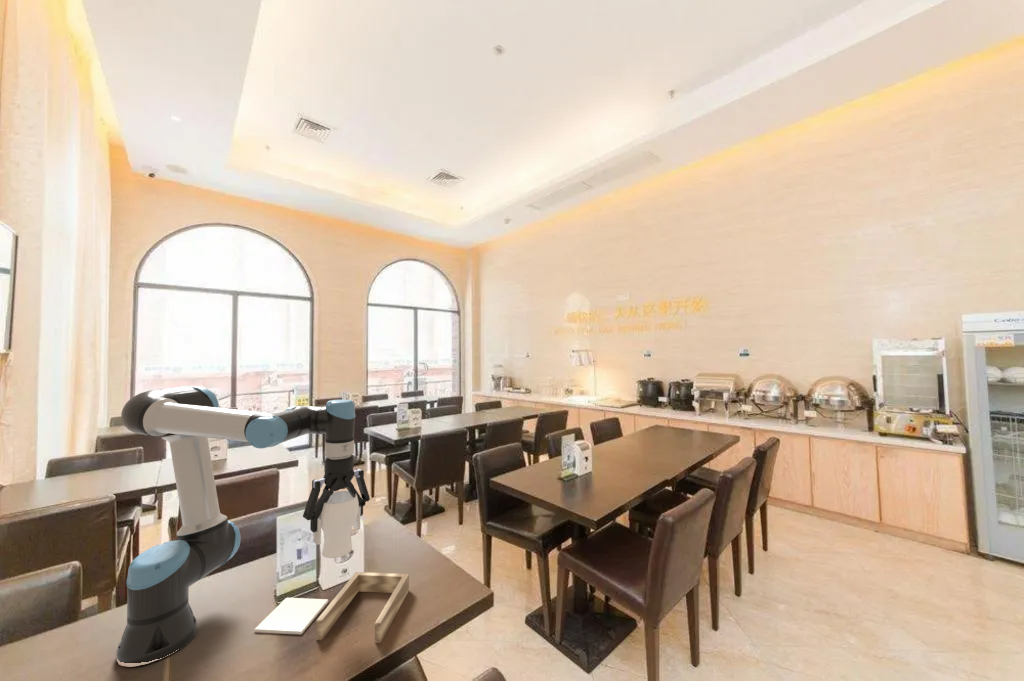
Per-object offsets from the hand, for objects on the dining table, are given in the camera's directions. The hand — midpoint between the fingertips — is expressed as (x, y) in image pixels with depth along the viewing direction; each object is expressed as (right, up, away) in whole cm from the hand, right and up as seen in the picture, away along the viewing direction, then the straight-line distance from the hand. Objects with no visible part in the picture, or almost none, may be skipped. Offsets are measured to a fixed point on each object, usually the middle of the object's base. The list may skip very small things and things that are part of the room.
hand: (337, 535), depth 108 cm
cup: (0, -5, 0) cm, 5 cm away
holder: (+8, -23, +2) cm, 24 cm away
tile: (-13, -23, 0) cm, 26 cm away
